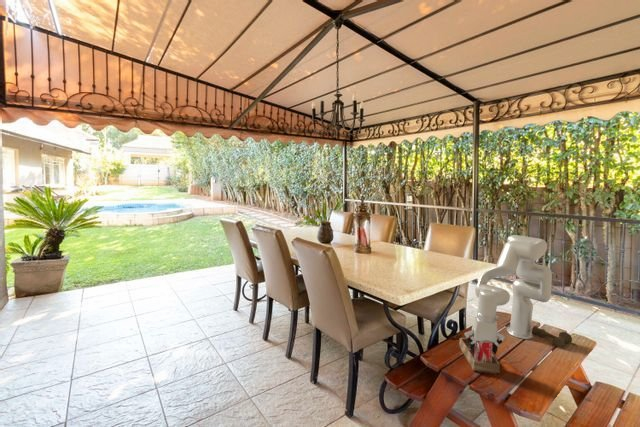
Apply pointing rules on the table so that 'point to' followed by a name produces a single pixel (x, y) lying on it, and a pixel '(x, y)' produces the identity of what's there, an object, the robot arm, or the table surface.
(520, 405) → the table surface
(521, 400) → the table surface
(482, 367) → the drinks caddy
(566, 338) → the kendama
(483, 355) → the soda can
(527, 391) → the table surface
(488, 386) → the table surface
